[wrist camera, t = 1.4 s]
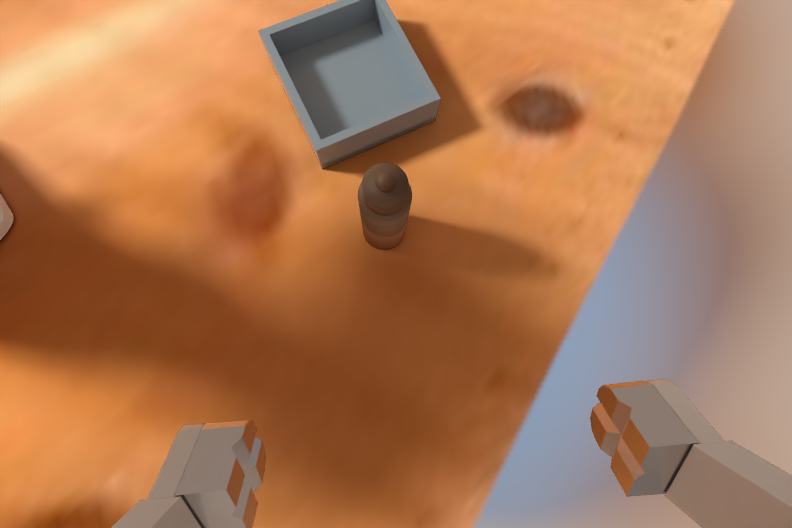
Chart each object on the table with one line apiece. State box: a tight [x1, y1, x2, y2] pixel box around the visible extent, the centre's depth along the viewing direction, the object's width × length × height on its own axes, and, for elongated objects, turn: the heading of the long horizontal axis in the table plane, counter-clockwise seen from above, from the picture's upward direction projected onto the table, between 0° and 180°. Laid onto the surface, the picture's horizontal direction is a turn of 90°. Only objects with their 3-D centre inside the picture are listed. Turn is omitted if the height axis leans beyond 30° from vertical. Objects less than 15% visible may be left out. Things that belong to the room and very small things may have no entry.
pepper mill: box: [358, 163, 412, 250], centre depth 32 cm, size 4×4×12 cm
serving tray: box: [258, 0, 441, 169], centre depth 39 cm, size 14×13×4 cm
